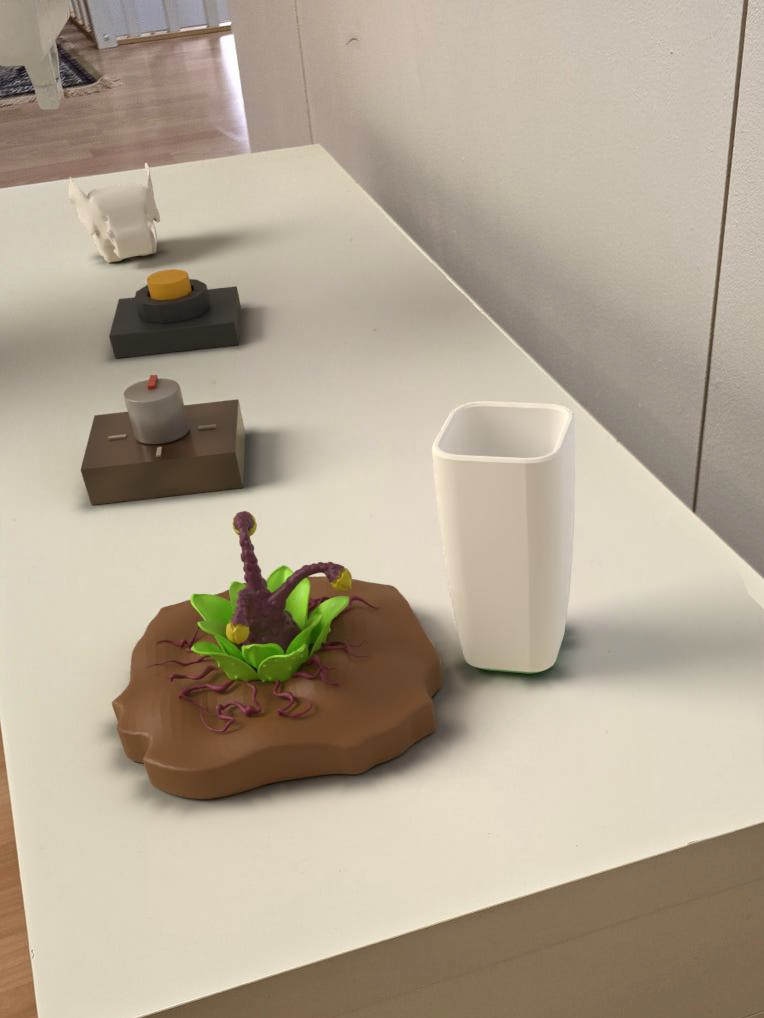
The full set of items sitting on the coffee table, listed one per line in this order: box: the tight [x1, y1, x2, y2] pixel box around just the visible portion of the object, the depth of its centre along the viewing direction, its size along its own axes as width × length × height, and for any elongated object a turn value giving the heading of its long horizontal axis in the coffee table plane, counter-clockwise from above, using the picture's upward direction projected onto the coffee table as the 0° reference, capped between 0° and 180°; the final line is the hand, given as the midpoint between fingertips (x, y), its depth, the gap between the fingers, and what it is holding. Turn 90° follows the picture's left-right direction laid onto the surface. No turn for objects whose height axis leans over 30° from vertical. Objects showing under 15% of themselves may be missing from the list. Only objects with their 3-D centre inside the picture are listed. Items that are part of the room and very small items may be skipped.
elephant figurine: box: [67, 162, 161, 263], centre depth 136 cm, size 10×12×9 cm
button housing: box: [108, 278, 242, 359], centre depth 120 cm, size 12×10×4 cm
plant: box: [111, 510, 443, 800], centre depth 73 cm, size 20×20×11 cm
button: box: [146, 269, 192, 300], centre depth 119 cm, size 4×4×2 cm
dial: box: [123, 374, 189, 444], centre depth 97 cm, size 4×4×4 cm
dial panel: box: [80, 398, 246, 506], centre depth 99 cm, size 12×10×3 cm
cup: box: [431, 400, 576, 675], centre depth 73 cm, size 7×7×15 cm
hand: (52, 105), depth 103 cm, fingers closed
